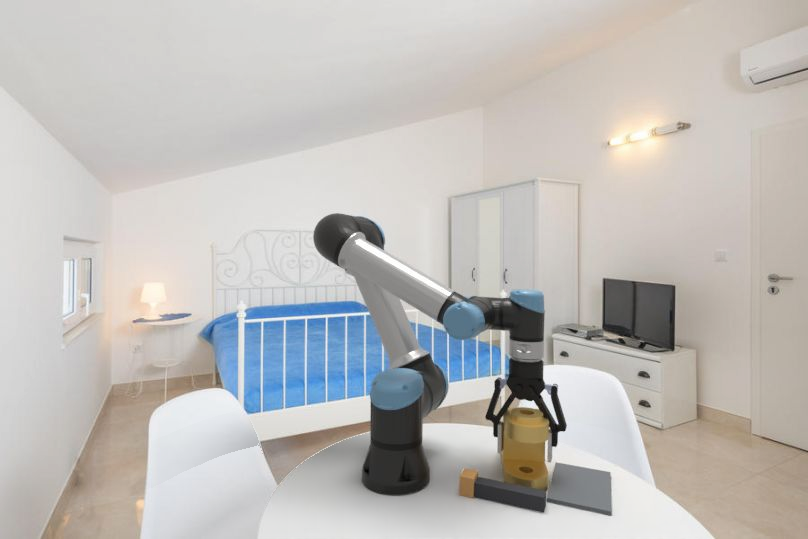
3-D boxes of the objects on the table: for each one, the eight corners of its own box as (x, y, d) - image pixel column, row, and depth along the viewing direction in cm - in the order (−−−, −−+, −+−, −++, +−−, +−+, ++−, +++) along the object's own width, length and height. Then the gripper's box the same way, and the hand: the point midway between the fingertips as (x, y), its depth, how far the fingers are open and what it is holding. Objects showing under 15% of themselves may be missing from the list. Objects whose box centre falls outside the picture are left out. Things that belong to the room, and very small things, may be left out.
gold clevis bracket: (550, 497, 95) (552, 421, 95) (505, 493, 97) (506, 418, 96) (538, 456, 115) (539, 393, 114) (500, 453, 116) (501, 391, 116)
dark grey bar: (459, 495, 96) (459, 476, 96) (464, 486, 99) (464, 468, 99) (543, 514, 89) (544, 493, 89) (546, 504, 92) (546, 484, 92)
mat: (546, 501, 93) (546, 497, 93) (555, 465, 110) (555, 462, 110) (611, 515, 89) (611, 511, 89) (610, 475, 105) (610, 472, 105)
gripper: (472, 356, 105) (470, 452, 105) (579, 367, 95) (577, 472, 96) (480, 350, 111) (479, 440, 112) (581, 359, 102) (579, 458, 103)
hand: (524, 455), depth 104 cm, fingers closed on gold clevis bracket, 10 cm apart
